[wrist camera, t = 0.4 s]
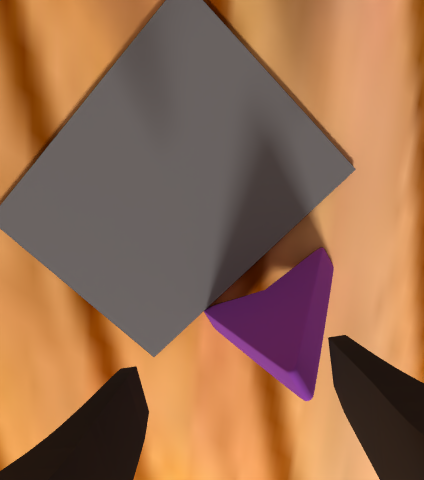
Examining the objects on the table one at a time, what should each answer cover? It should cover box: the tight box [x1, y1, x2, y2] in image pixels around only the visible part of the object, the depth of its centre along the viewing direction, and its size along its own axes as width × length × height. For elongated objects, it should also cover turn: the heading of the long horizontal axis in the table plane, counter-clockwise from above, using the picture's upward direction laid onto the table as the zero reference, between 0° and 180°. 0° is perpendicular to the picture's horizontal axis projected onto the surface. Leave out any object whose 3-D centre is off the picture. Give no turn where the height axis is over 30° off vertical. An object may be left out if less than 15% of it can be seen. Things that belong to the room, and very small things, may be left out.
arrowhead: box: [204, 248, 333, 401], centre depth 20 cm, size 10×2×10 cm
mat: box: [0, 0, 356, 357], centre depth 20 cm, size 14×18×1 cm
